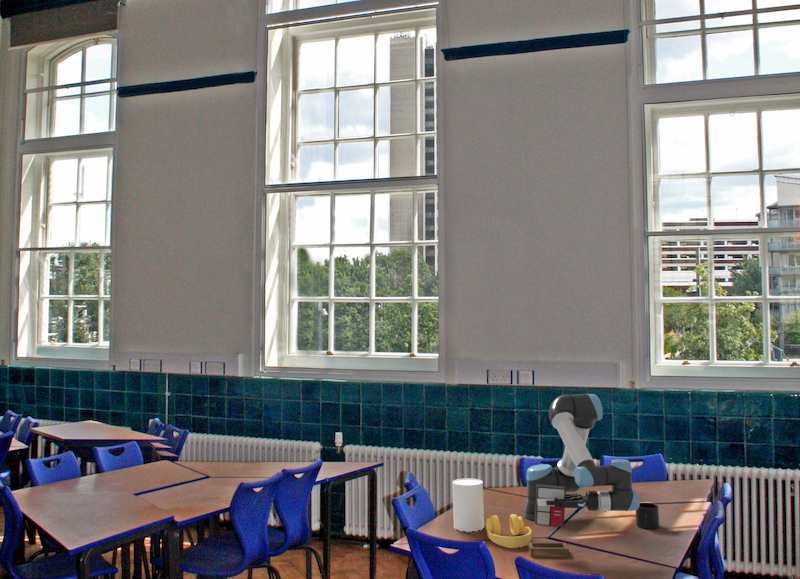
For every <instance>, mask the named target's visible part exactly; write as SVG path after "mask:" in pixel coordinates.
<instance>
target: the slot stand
mask: <svg viewBox="0 0 800 579" xmlns="http://www.w3.org/2000/svg"><path fill="white" fill-rule="evenodd" d="M527 545H528V552H529V554H530V557H531V558H532V557H534V558H535V557H536V558H537V557H538V558H541V557H542V558H544V557H545V558H547V557H549V558H551V557H554V558H558V557H559V558H560V557H563V558H565V557H566V558H567V557H568V558H569V557H570V556H569V555H570V554H569V552H570V551H569V547H568V545H567V543H566V542H564V541H561V542H560V541H559V542H558V541H556V542H554V541H553V542H551V541H549V542H548V541H547V542H546V541H544V542H543V541H540V542H539V541H538V542H537V541H536V542H534V541H533V542H532V541H530V542H528V544H527Z"/></svg>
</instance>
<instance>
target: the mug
mask: <svg viewBox="0 0 800 579" xmlns="http://www.w3.org/2000/svg"><path fill="white" fill-rule="evenodd" d="M659 514H660V513H659V505H658V504H655V503H652V502H640V505H639V508H638V510H635V522H636V523H635V524H636V526H637V527H638V528H640V529H643V528H644V530H657V529H659V527H660V517H659V516H660V515H659ZM656 528H657V529H656Z"/></svg>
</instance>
